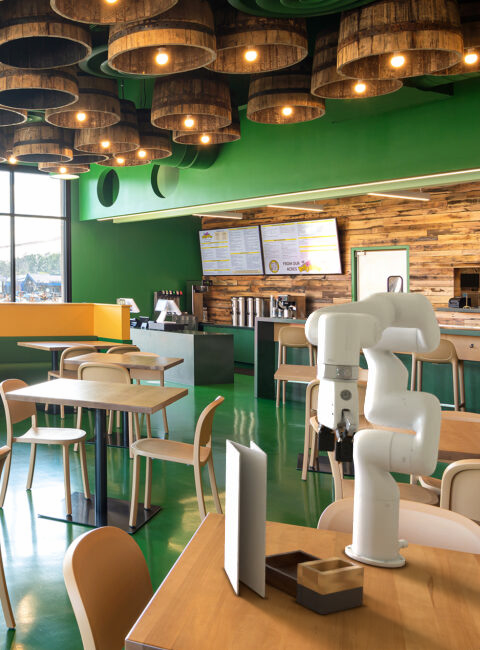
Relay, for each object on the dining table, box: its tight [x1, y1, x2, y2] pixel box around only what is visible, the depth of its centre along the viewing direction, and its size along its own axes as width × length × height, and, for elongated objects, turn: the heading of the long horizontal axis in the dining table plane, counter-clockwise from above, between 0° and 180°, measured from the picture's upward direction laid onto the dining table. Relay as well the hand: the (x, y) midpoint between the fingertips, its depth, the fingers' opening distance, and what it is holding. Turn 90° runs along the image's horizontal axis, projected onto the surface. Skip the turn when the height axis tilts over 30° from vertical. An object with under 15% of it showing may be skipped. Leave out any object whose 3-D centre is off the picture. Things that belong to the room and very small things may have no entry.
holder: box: [265, 549, 323, 598], centre depth 149 cm, size 16×13×4 cm
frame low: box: [295, 583, 364, 615], centre depth 137 cm, size 12×6×4 cm, turn 114°
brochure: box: [224, 439, 268, 598], centre depth 146 cm, size 14×6×30 cm, turn 169°
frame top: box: [297, 556, 365, 595], centre depth 137 cm, size 12×6×4 cm, turn 114°
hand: (334, 456), depth 137 cm, fingers open, 9 cm apart
